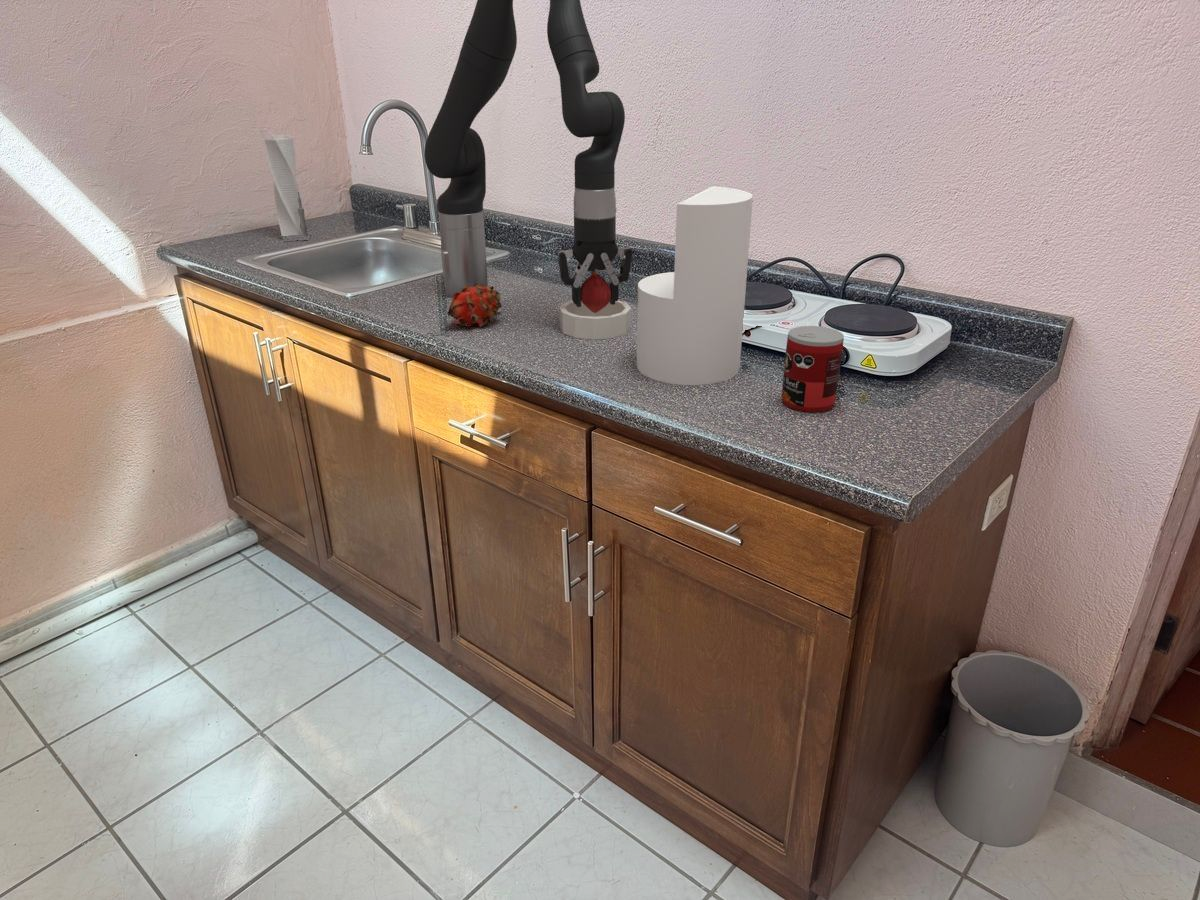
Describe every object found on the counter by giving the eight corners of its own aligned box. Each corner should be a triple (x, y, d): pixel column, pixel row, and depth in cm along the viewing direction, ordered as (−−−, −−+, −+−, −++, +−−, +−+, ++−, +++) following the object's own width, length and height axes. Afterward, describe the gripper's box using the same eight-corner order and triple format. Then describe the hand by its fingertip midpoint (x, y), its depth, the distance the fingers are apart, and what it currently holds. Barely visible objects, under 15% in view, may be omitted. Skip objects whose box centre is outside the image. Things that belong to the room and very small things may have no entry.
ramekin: (567, 341, 153) (567, 320, 151) (555, 320, 164) (555, 300, 162) (637, 336, 155) (637, 315, 153) (620, 315, 167) (620, 296, 165)
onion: (614, 309, 160) (615, 268, 156) (605, 318, 155) (605, 275, 152) (586, 307, 162) (585, 265, 158) (575, 315, 157) (574, 273, 153)
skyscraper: (276, 242, 225) (257, 130, 213) (280, 235, 233) (261, 127, 220) (309, 240, 227) (291, 130, 214) (311, 234, 234) (295, 127, 222)
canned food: (775, 394, 131) (781, 326, 126) (825, 392, 131) (834, 324, 126) (789, 414, 124) (796, 343, 119) (842, 412, 124) (851, 341, 119)
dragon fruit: (507, 326, 166) (456, 348, 160) (484, 295, 168) (432, 315, 162) (516, 299, 159) (462, 320, 153) (491, 266, 161) (437, 286, 155)
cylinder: (751, 356, 146) (765, 189, 133) (722, 392, 131) (734, 208, 119) (657, 343, 152) (662, 182, 139) (620, 375, 138) (622, 199, 125)
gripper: (628, 207, 155) (627, 297, 162) (551, 211, 152) (553, 301, 160) (639, 215, 148) (637, 308, 156) (558, 219, 146) (560, 313, 153)
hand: (595, 304), depth 158 cm, fingers closed on onion, 6 cm apart
